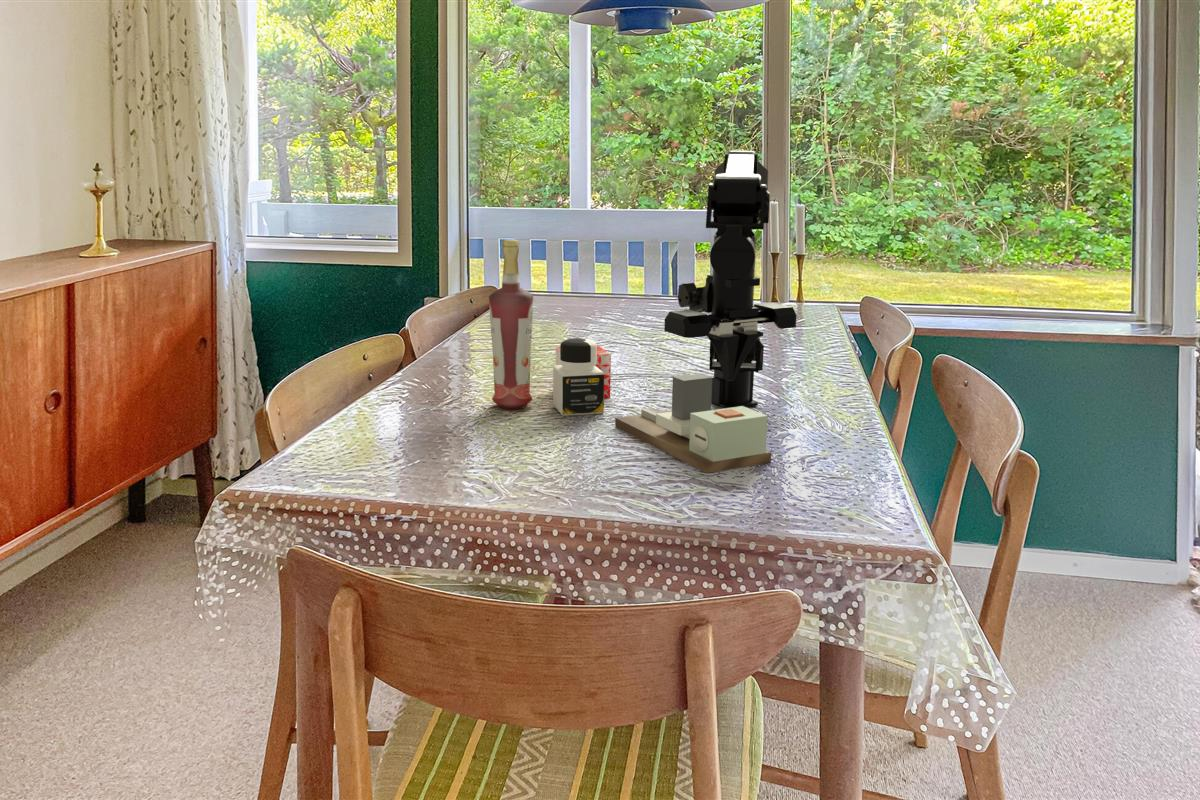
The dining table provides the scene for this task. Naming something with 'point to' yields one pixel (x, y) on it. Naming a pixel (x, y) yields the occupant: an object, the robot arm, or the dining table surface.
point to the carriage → (686, 402)
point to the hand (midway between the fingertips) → (729, 380)
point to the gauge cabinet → (728, 434)
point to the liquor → (511, 334)
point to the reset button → (728, 413)
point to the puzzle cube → (598, 366)
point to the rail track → (679, 443)
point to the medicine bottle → (578, 379)
